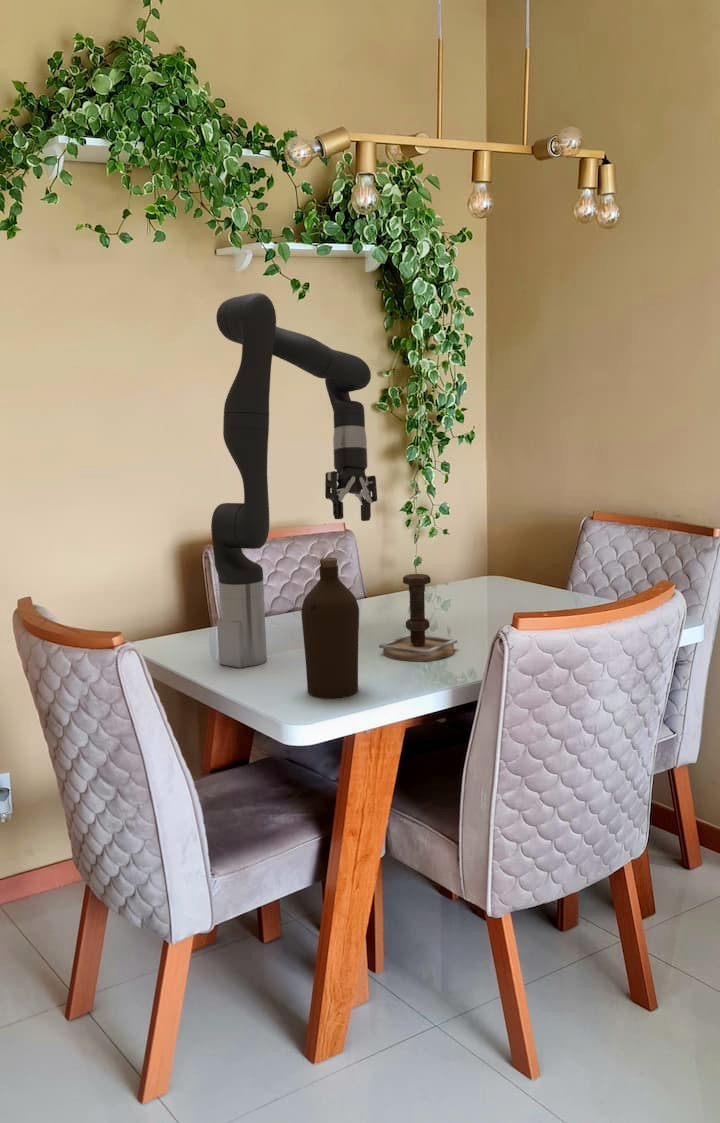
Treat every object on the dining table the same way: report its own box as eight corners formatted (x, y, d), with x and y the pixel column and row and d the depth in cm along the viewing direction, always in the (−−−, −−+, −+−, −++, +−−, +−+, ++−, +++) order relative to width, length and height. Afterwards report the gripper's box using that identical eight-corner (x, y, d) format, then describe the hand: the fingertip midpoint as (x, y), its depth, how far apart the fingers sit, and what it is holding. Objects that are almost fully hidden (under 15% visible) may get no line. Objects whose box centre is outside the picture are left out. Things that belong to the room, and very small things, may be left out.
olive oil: (359, 699, 179) (355, 563, 175) (300, 699, 179) (295, 564, 175) (363, 682, 189) (359, 553, 185) (308, 683, 190) (303, 554, 186)
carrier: (429, 664, 200) (429, 654, 200) (369, 655, 209) (369, 645, 209) (466, 648, 212) (466, 639, 212) (408, 640, 221) (408, 631, 221)
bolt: (431, 642, 213) (430, 573, 210) (431, 648, 208) (430, 577, 205) (404, 642, 213) (403, 573, 211) (403, 648, 208) (402, 578, 206)
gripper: (339, 442, 215) (341, 517, 214) (383, 449, 226) (386, 519, 225) (315, 447, 221) (318, 520, 220) (360, 453, 231) (362, 522, 230)
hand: (352, 519), depth 222 cm, fingers open, 8 cm apart
